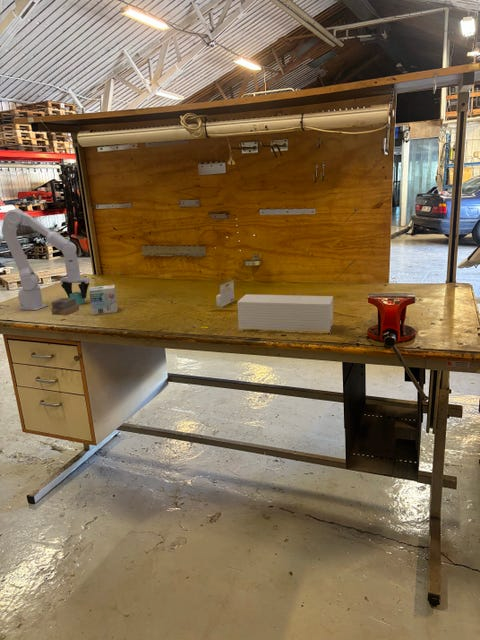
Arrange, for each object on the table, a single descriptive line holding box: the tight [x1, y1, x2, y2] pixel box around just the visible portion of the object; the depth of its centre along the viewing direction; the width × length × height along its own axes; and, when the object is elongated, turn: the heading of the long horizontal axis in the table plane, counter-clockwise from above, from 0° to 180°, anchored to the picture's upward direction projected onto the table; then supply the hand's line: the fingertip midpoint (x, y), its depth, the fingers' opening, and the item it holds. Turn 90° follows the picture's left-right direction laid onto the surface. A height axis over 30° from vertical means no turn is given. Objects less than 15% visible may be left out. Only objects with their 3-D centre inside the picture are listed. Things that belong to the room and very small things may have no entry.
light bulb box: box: [88, 284, 119, 316], centre depth 193 cm, size 11×7×11 cm, turn 105°
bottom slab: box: [50, 304, 80, 316], centre depth 197 cm, size 8×8×3 cm
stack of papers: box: [236, 293, 334, 333], centre depth 160 cm, size 32×11×11 cm, turn 73°
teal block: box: [69, 291, 86, 305], centre depth 211 cm, size 5×5×5 cm
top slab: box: [51, 297, 76, 309], centre depth 196 cm, size 7×7×3 cm
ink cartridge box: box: [215, 279, 236, 308], centre depth 195 cm, size 2×11×10 cm, turn 149°
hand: (77, 298), depth 211 cm, fingers open, 7 cm apart
